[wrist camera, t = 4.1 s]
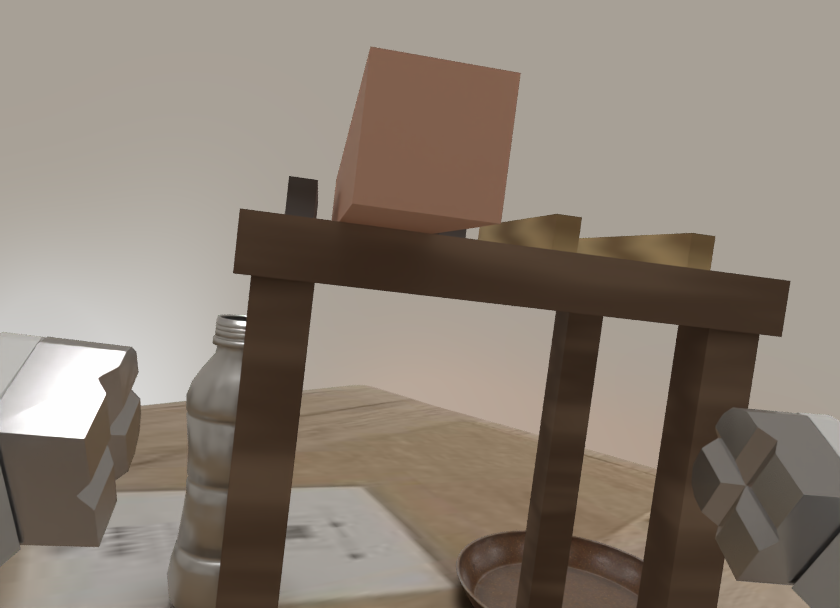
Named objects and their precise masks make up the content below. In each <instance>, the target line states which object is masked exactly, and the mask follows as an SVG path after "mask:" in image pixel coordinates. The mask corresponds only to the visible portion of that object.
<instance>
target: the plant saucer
mask: <svg viewBox="0 0 840 608" xmlns="http://www.w3.org/2000/svg"><path fill="white" fill-rule="evenodd" d="M525 535H526V531H508V532H500V533H495V534H491V535H487V536H484V537H481V538H479V539H476V540H474V541H473V542H471V543H470V544H468V545H467V546H466V547H465V548H464V549H463V550H462V551H461V552H460V554H459V556H458V558H457V562H456V571H457V575H458V578H459V580H460V583H461V585H462V587H463V589H464V591H465V593H466V595H467V597H468V598H469V600H470V602H471V603H472V605H473V607H474V608H516V601H517V593H518V586H519V579H520V571H521V564H522V557H523V550H524V542H525ZM643 561H644V560H642V559H640V558H638V557H636V556H634V555H632V554H629V553H627V552H624V551H622V550H620V549H617V548H615V547H612V546H609V545H606V544H603V543H600V542H596V541H593V540H589V539H585V538H581V537H576V536H572V540H571V547H570V554H569V562H568V569H567V576H566V583H565V590H564V597H563V604H562V608H637V601H638V594H639V587H640V581H641V574H642V567H643Z"/></svg>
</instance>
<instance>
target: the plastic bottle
mask: <svg viewBox="0 0 840 608" xmlns="http://www.w3.org/2000/svg"><path fill="white" fill-rule="evenodd" d="M246 319H247V316H245V315H218V318H217V322H216V331H215V335H214V336H213V344H215V345H217V349H216V353H215V354H214V355H213V356H212V357H211V358H210V360H209V361H208V362H207V363H206V364H205V365H204V366H203V367H202V369H201V370H200V371H199V373H198V374H197V375H196V377H195V378H194V380H193V381H192V383H191V385H190V388H189V390H188V393H187V402H186V409H187V435H188V462H187V475H188V477H187V481H186V495H185V501H184V506H183V511H182V517H181V522H180V527H179V533H178V539H177V540H176V543H175V546H174V549H173V552H172V555H171V560H170V564H169V568H168V572H167V579H168V592H169V599H170V601H171V603H172V604H173V606H174V607H175V608H215V607H216V598H217V589H218V579H219V570H220V561H221V552H222V542H223V533H224V524H225V514H226V505H227V496H228V487H229V477H230V468H231V459H232V449H233V440H234V431H235V422H236V412H237V403H238V394H239V384H240V375H241V366H242V357H243V347H244V338H245V329H246Z"/></svg>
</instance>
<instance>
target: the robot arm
mask: <svg viewBox="0 0 840 608" xmlns="http://www.w3.org/2000/svg"><path fill="white" fill-rule="evenodd" d="M137 374H138V363H137V354H136V351H135V350H134V349H133V348H132V347H128V346H120V345H111V344H103V343H94V342H86V341H79V340H69V339H62V338H54V337H47V338H45V337H40V336H31V335H23V334H15V333H7V332H2V333H0V567H1V566H2V565H3V564H4V563H5V562H6V561H8V560H9V559H10V558H11V557H12V556H13V555H15V554H16V553H17V552H18V551H19V550H20V545H41V546H79V547H99V546H100V543H101V541H102V538H103V535H104V533H105V530H106V528H107V525H108V523H109V520H110V517H111V515H112V512H113V510H114V507H115V505H116V502H117V494H116V483H115V480H117V479H118V478H120V477H121V476H122V475H124V474H125V473H126V472H128V471H129V468H130V465H131V462H132V459H133V457H134V454H135V450H136V445H137V441H138V436H139V431H140V419H141V405H140V398H139V397H138V396H137V395H136V394H135V393H134V392H133V391H132V390H131V389H132V386H133V384H134V382H135V379H136V377H137ZM715 429H716V433H717V437H718V438H717V439H716V440H714V441H712V442H711V443H709V444H708V445H706V446H704V447H703V448H702V449H701V450H700V452H699V454H698V456H697V458H696V460H695V461H694V463H693V468H692V480H691V484H692V488H693V493H694V497H695V499H696V501H697V504H698V506H699V508H700V510H701V512H702V513H703V514H705V515H706V516H707V517H708V518H709V519H710V520H712V521H713V522H714V523H715V524H716V525H718V528H717V532H716V537H715V540H716V542H717V543H718V545H719V547H720V549H721V551H722V553H723V555H724V557H725V559H726V561H727V563H728V565H729V567H730V569H731V571H732V573H733V575H734V577H735V579H736V581H746V582H758V583H770V584H782V585H794V586H793V587H792V589H793V590H794V591H795V592H796V593H797V594H798V595H799V596H800V597H801V598H802V599H803V600H804V601H805V602H806V603H807V604H808V605H809V606H810V607H811V608H840V421H839V420H837V419H835V418H834V417H832V416H830V415H822V414H809V413H789V412H777V411H767V410H755V409H746V408H735V407H733V408H731V409H730V410H728V411H727V412H725V413H724V414H723V415H722V416H721V418H720V419H719V421H718V423H717V424H716V426H715Z"/></svg>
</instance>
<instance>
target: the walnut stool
mask: <svg viewBox="0 0 840 608" xmlns="http://www.w3.org/2000/svg"><path fill="white" fill-rule="evenodd" d="M317 207H318V180H313V179H306V178H299V177H291V176H289V183H288V192H287V202H286V211H285V214H278V213H270V212H263V211H255V210H247V209H240V213H239V223H238V232H237V242H236V251H235V261H234V270H233V273H235V274H244V275H251V282H250V292H249V301H248V310H247V319H246V329H245V338H244V347H243V357H242V366H241V375H240V384H239V394H238V403H237V412H236V422H235V431H234V440H233V449H232V459H231V468H230V477H229V487H228V496H227V505H226V514H225V524H224V533H223V542H222V552H221V561H220V570H219V579H218V589H217V598H216V607H215V608H278V600H279V591H280V583H281V574H282V565H283V556H284V548H285V539H286V530H287V521H288V512H289V504H290V495H291V486H292V477H293V468H294V460H295V451H296V442H297V433H298V424H299V416H300V407H301V398H302V389H303V380H304V372H305V362H306V354H307V345H308V336H309V327H310V319H311V310H312V301H313V292H314V283H322V284H330V285H339V286H347V287H356V288H365V289H373V290H382V291H390V292H399V293H408V294H416V295H425V296H434V297H442V298H451V299H460V300H468V301H477V302H485V303H494V304H503V305H511V306H520V307H528V308H537V309H546V310H554V311H556V316H555V324H554V331H553V338H552V346H551V352H550V360H549V368H548V374H547V382H546V389H545V397H544V403H543V411H542V418H541V426H540V433H539V440H538V447H537V455H536V462H535V469H534V476H533V484H532V491H531V498H530V506H529V513H528V520H527V528H526V535H525V542H524V550H523V557H522V564H521V571H520V579H519V586H518V593H517V601H516V608H562V604H563V597H564V590H565V583H566V576H567V569H568V562H569V554H570V547H571V540H572V533H573V526H574V519H575V512H576V505H577V498H578V491H579V484H580V477H581V470H582V463H583V455H584V448H585V441H586V434H587V427H588V420H589V413H590V406H591V398H592V392H593V385H594V378H595V370H596V362H597V356H598V349H599V342H600V335H601V327H602V321H603V316H606V317H615V318H623V319H632V320H641V321H649V322H658V323H666V324H676V325H679V326H678V332H677V339H676V346H675V352H674V359H673V365H672V372H671V379H670V386H669V392H668V400H667V406H666V413H665V420H664V427H663V433H662V439H661V447H660V453H659V460H658V467H657V473H656V480H655V487H654V493H653V500H652V507H651V513H650V520H649V527H648V534H647V540H646V547H645V554H644V561H643V567H642V574H641V581H640V587H639V594H638V601H637V608H717V603H718V596H719V590H720V584H721V577H722V571H723V564H724V558H725V557H724V555H723V553H722V551H721V549H720V547H719V545H718V543H717V542H716V540H715V537H716V532H717V528H718V525H716V524H715V523H714V522H713V521H712V520H710V519H709V518H708V517H707V516H706V515H705V514H703V513H702V512H701V510H700V508H699V506H698V504H697V501H696V499H695V497H694V493H693V488H692V484H691V480H692V468H693V463H694V461H695V460H696V458H697V456H698V454H699V452H700V450H701V449H702V448H703V447H704V446H706V445H708V444H709V443H711V442H712V441H714V440H716V439H717V438H718V437H717V433H716V429H715V426H716V424H717V423H718V421H719V419H720V418H721V416H722V415H723V414H724V413H725V412H727V411H728V410H730V409H731V408H733V407H735V408H746V409H748V404H749V397H750V392H751V386H752V378H753V372H754V366H755V360H756V354H757V347H758V341H759V334H761V335H770V336H778V337H781V336H782V331H783V325H784V318H785V312H786V306H787V299H788V293H789V286H790V281H786V280H779V279H771V278H763V277H755V276H748V275H740V274H733V273H725V272H718V271H710V268H711V262H712V255H713V249H714V242H715V236H710V235H703V234H696V233H682V234H661V235H640V236H620V237H599V238H579V234H580V227H581V220H582V218H581V217H575V216H568V215H561V214H553V215H547V216H540V217H534V218H527V219H521V220H514V221H508V222H502V223H501V224H496V225H489V226H483V227H480V229H479V237H478V240H475V239H467V238H465V237H466V229H462V230H455V231H449V232H442V233H435V234H429V233H422V232H414V231H407V230H399V229H391V228H384V227H376V226H369V225H361V224H354V223H346V222H338V221H331V220H323V219H316V216H317Z"/></svg>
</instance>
